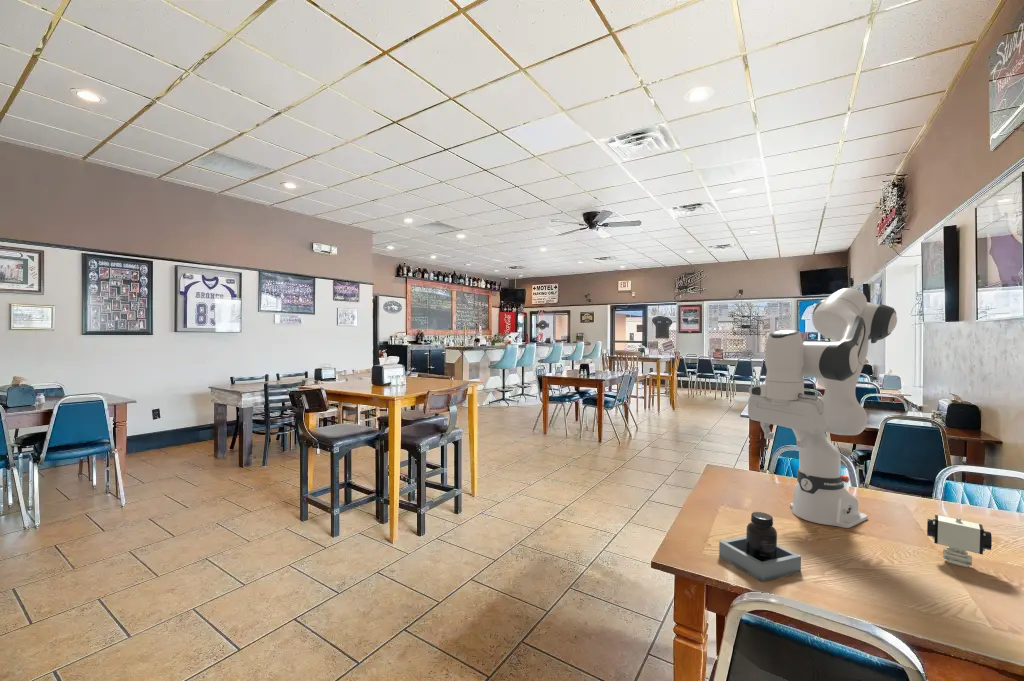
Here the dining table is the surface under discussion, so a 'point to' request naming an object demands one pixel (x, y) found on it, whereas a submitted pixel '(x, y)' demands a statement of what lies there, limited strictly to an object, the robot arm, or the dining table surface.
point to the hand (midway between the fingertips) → (784, 442)
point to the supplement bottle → (761, 537)
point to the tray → (762, 571)
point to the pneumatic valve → (959, 538)
